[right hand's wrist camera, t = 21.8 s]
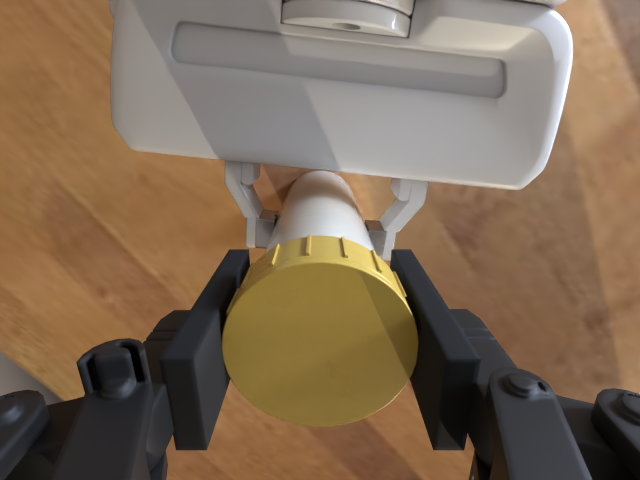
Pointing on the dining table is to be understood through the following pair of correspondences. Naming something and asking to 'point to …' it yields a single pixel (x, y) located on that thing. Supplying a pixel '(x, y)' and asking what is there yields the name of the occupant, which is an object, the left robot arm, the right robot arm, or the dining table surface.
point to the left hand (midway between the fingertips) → (319, 250)
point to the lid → (320, 333)
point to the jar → (320, 211)
